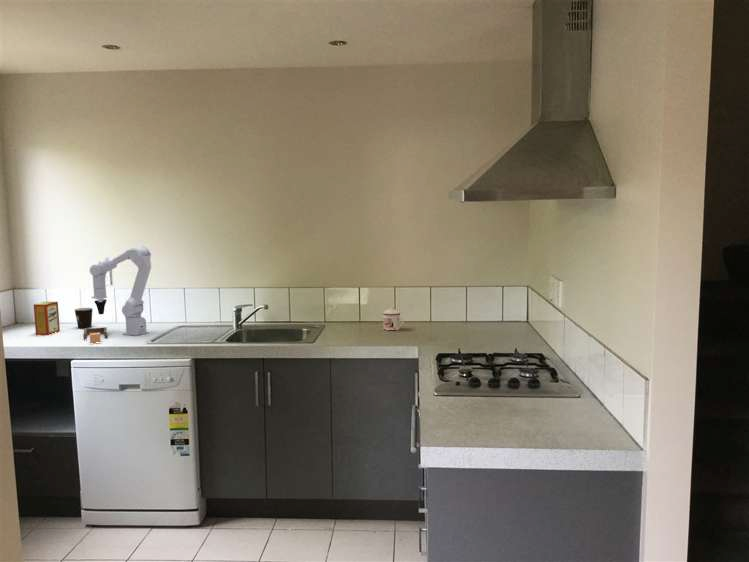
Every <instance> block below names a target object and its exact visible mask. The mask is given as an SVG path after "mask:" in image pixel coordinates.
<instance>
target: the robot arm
mask: <svg viewBox="0 0 749 562" xmlns="http://www.w3.org/2000/svg"><path fill="white" fill-rule="evenodd" d="M151 256H152V253H151V251H150V250H149V249H148V248H147V247H145V246H142V247H136V248H134V247H132V248H130V249H127V250H125V251H124V252H121V253H120V254H118V255H117V256H115V257H109V256H108V257H106V258H105V259H104V260H103V261H98V263H97V264H92V265H91V266H90V268H89V273H90V274H91V276H92V285H93V286H92V287H93V296H91V299H95V300H94V303H95V305H96V308H97V312H98V315H104V314H105V313H104V312H105V307H106V303H107V299H106V298H107V288H106V287H107V286H106V277H107V276H106V274H107V273H109V272H110V271H113V270H114V269H116V268H117V266H118V264H121V263H123V262H125V261H127V260H130V261H131V262H132V263H133V264H134V265H136V267H137V269H138V270H137V273H136V276H135V279H134V282H133V286H132V289H131V293H130V297H129V298H128V299H127V300H126V301H125V303H124V305H123V306H122V308H121V313H122V314H123V316H124V318H125V329H126V331H125V332H123V333H122V335H126V336H127V335H129V336H140V335H144V334H147V333H148V331H147V320H146V318H144V317H142V313H143V312H144V303H145V302H144V300H142V299H143V296H144V293H145V292H144V291H145V289H146V286H147V283H148V279H149V275H150V273H151V270H152V269H151V268H152V264H151V263H152V262H151Z"/></svg>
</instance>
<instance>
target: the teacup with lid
mask: <svg viewBox="0 0 749 562" xmlns="http://www.w3.org/2000/svg"><path fill="white" fill-rule="evenodd" d="M382 314H383V317H382V319H383V320H382V323H383V324H382V325H383V330H384V329H385V330H384V331H386V330H397V331H400V330H399V329H401V326H403V325H404V322H405V321H404V317H402V316H401V311H399V310H397V309H395V308H394V307H393V306H390V307H389V308H388V309H386V310H384V311H383V312H382Z"/></svg>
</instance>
